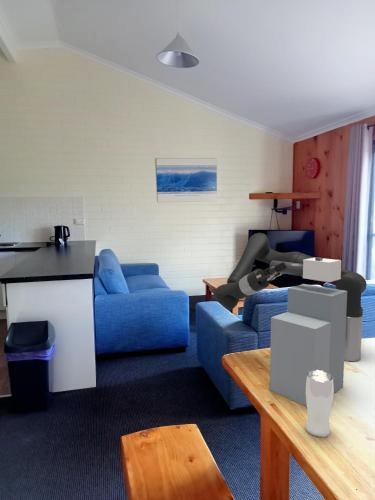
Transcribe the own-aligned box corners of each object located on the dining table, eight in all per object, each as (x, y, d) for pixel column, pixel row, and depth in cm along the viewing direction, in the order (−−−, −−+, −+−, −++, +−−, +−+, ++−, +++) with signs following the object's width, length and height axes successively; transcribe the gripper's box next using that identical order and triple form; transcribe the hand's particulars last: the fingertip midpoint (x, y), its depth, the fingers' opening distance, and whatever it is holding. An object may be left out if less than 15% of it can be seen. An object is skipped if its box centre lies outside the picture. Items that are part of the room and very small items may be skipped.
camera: (278, 270, 128) (278, 251, 128) (340, 279, 111) (341, 257, 110) (266, 272, 124) (267, 253, 123) (329, 282, 107) (330, 259, 106)
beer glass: (334, 440, 89) (337, 383, 87) (305, 436, 90) (307, 380, 88) (329, 423, 95) (331, 370, 94) (302, 420, 97) (304, 368, 95)
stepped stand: (301, 371, 126) (304, 283, 123) (343, 387, 115) (347, 291, 111) (269, 389, 114) (271, 292, 110) (312, 409, 102) (316, 301, 99)
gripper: (269, 288, 136) (304, 271, 124) (245, 294, 127) (281, 276, 115) (261, 271, 139) (295, 252, 126) (237, 275, 129) (271, 256, 117)
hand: (288, 264), depth 121 cm, fingers closed on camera, 4 cm apart
